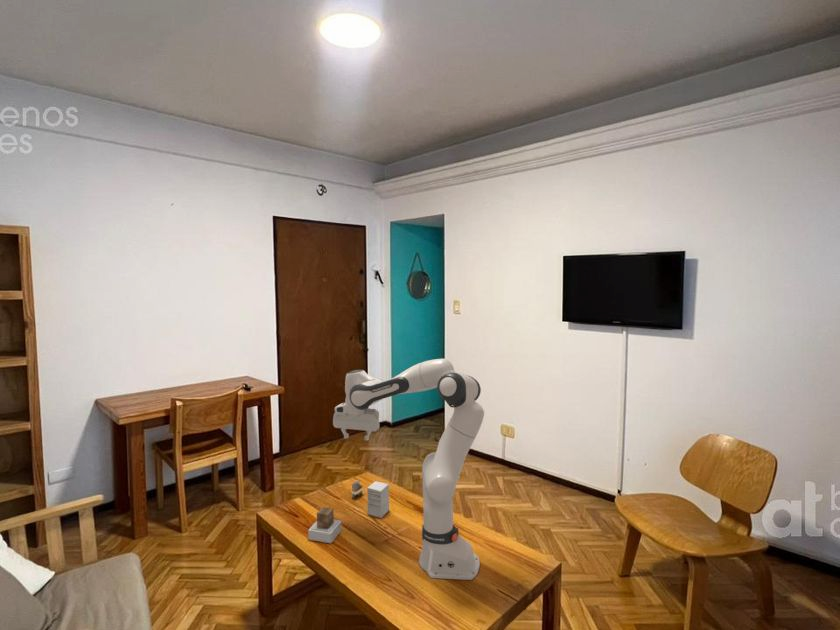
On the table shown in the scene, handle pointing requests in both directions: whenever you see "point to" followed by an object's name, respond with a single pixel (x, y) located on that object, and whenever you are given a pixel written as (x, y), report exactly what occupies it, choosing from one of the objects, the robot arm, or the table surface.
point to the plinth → (325, 532)
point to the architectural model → (356, 488)
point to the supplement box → (378, 499)
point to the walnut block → (325, 517)
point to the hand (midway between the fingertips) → (356, 439)
